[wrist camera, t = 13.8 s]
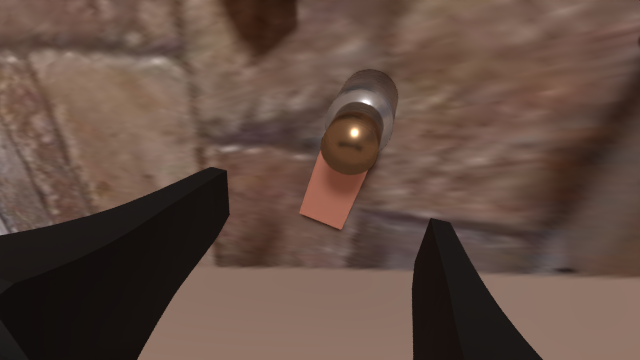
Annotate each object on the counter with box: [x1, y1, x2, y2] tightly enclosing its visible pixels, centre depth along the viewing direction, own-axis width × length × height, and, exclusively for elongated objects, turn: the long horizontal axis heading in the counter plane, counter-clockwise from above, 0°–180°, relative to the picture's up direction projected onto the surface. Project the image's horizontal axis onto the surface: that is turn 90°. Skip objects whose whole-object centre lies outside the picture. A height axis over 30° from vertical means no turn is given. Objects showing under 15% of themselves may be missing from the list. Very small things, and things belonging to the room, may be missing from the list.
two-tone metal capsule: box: [321, 69, 398, 175], centre depth 17 cm, size 3×3×6 cm
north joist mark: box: [299, 150, 368, 230], centre depth 22 cm, size 3×5×2 cm, turn 164°
